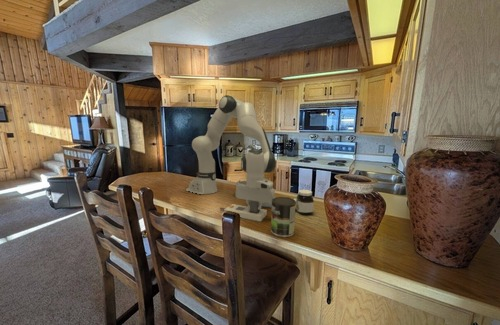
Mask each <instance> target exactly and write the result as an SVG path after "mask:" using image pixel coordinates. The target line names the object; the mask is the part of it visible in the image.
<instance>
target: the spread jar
mask: <svg viewBox="0 0 500 325" xmlns="http://www.w3.org/2000/svg"><path fill="white" fill-rule="evenodd" d="M293 199H294V200H295V201H296V205H295V210H296V211H297V213H298V214H301V215H305V216H309V215H311V214H313V212H314V207H315V206H314V205H315V204H314V202H315V201H314V198H313V191H311V190H309V189H299V190H298V194H297V196H296V198H293Z"/></svg>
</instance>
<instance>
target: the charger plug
mask: <svg viewBox="0 0 500 325" xmlns="http://www.w3.org/2000/svg"><path fill="white" fill-rule="evenodd" d="M249 202H250V213H255V214H258V213H259V210H257V209H258V208H257V207H258V206H259V202H257V201H251V200H250V201H249Z"/></svg>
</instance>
